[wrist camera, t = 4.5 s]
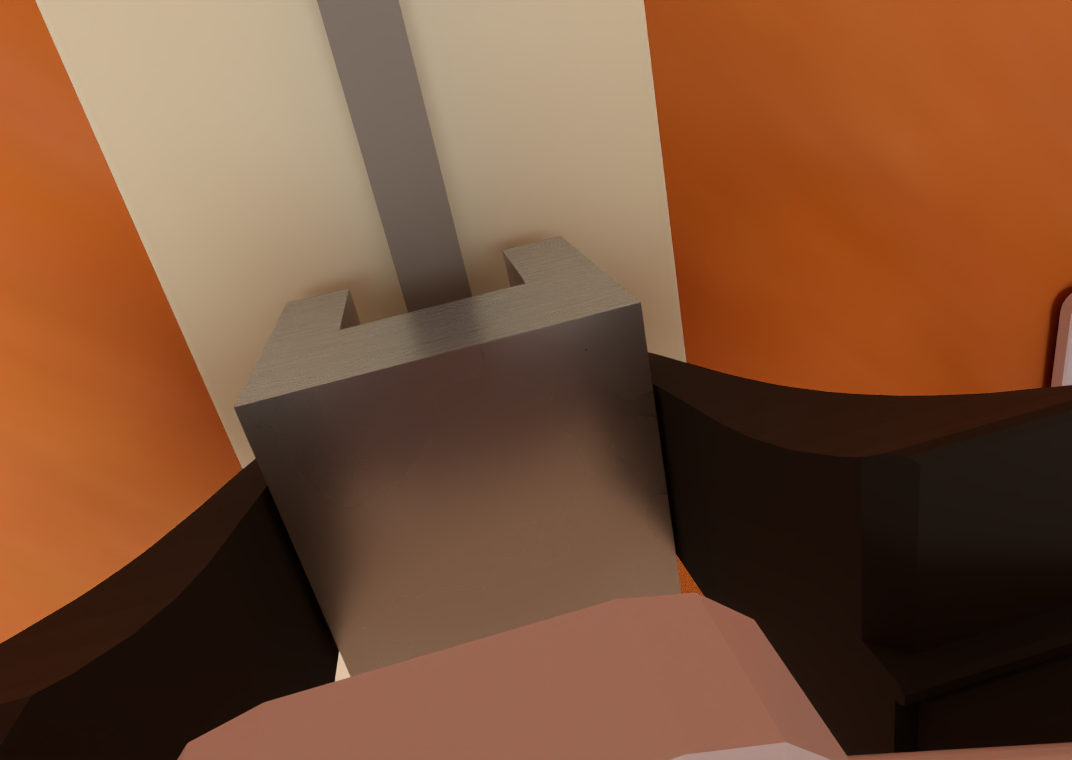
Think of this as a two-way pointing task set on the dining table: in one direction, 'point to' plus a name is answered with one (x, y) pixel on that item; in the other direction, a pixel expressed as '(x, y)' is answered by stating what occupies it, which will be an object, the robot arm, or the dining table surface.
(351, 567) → the clip
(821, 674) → the robot arm
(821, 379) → the dining table surface
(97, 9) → the rail board
